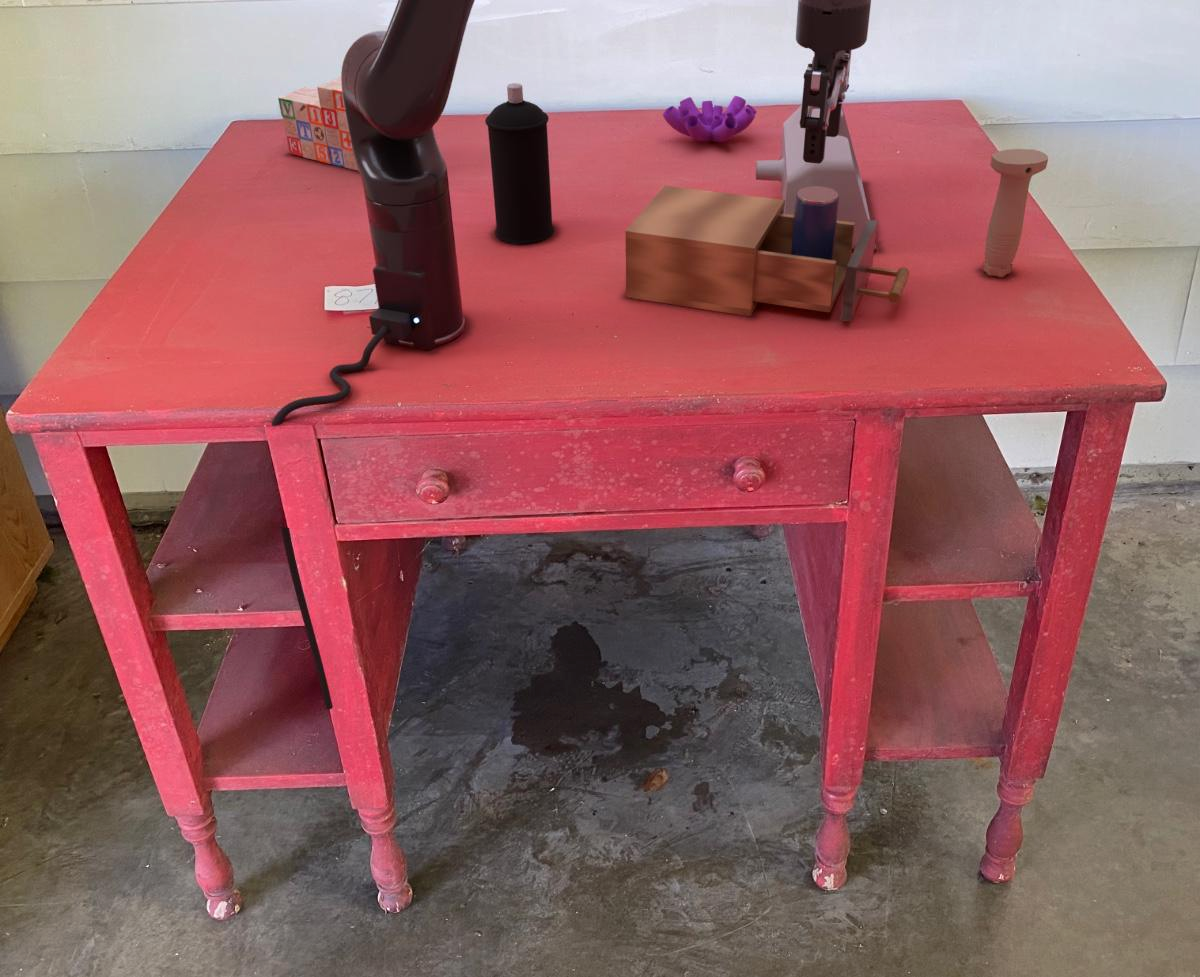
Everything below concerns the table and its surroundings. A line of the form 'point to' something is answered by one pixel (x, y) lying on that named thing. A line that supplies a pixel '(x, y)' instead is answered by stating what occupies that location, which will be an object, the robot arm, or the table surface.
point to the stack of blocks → (318, 124)
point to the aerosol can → (520, 170)
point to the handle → (1009, 206)
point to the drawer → (820, 270)
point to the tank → (819, 171)
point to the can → (815, 222)
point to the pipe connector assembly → (710, 119)
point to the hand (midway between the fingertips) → (821, 148)
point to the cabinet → (698, 248)
